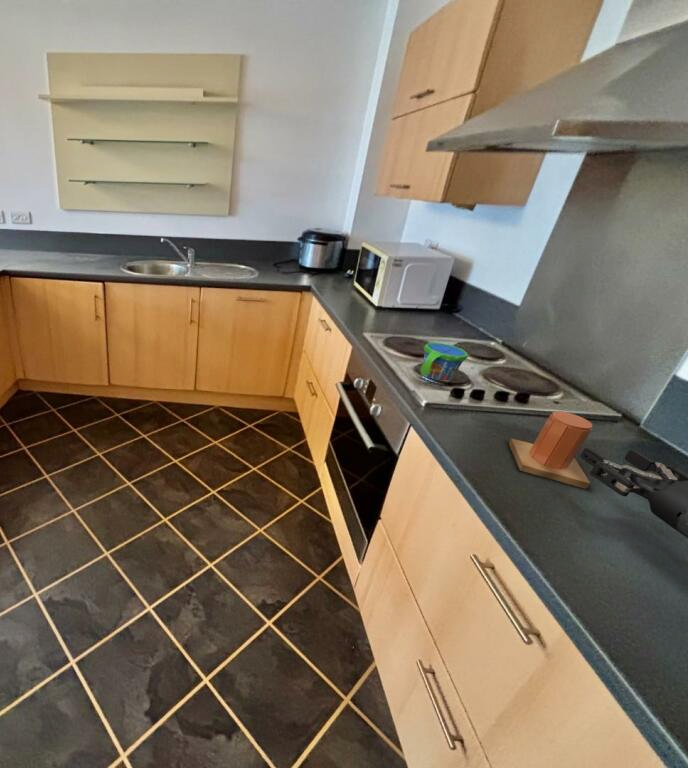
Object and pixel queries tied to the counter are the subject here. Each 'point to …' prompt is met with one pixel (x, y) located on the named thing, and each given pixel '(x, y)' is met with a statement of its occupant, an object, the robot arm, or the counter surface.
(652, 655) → the counter surface
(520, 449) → the stand
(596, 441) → the counter surface
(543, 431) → the terracotta cup
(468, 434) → the counter surface
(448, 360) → the snack cup
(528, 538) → the counter surface
